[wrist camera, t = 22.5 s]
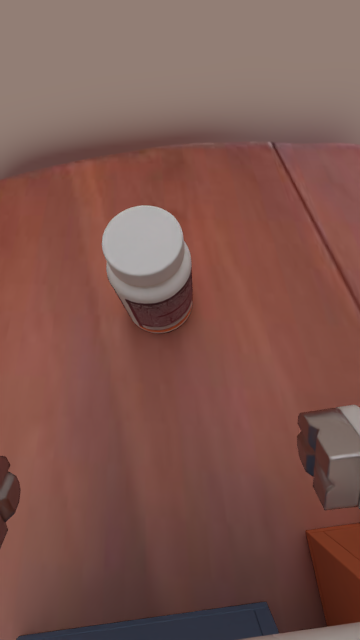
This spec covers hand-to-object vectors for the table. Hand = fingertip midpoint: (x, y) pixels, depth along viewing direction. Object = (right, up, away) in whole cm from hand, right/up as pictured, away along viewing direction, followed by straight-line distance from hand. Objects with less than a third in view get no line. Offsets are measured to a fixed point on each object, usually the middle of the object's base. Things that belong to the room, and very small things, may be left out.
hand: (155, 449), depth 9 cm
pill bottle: (-1, +5, +15) cm, 16 cm away
